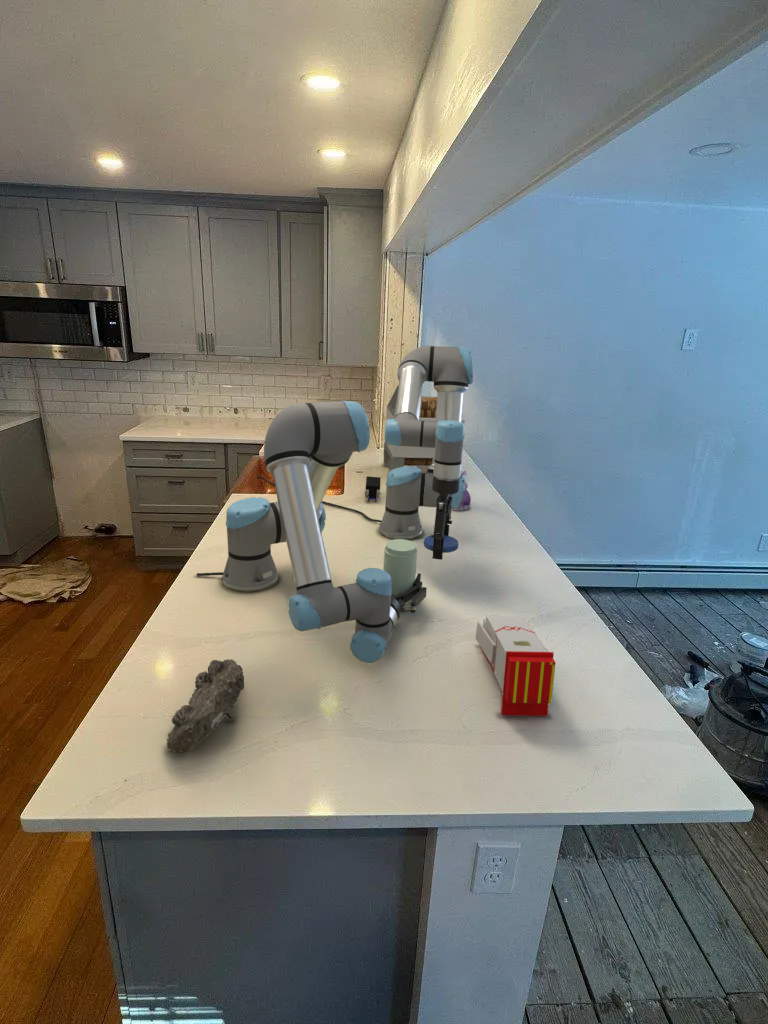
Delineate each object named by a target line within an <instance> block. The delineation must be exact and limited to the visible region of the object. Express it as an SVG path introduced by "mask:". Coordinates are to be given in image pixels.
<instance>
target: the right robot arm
mask: <svg viewBox="0 0 768 1024" xmlns="http://www.w3.org/2000/svg"><path fill="white" fill-rule="evenodd" d="M473 360H474V359H473V354H472V351H471V350H470V349H469V348H467V347H460V346H440V345H439V346H437V345H436V346H435V345H421V346H419V347H416V348H414V349H413V350H411V351H410V352H409V353H407V354H406V355H405V356H403V358H402V360H401V361H400V363H399V365H398V367H397V373H396V374H397V375H396V376H397V380H398V385H399V387H398V394H397V401H396V407H395V414H394V418H393V419H388V420H387V421H386V420H385V425H384V442H386V444H388V445H397V446H411V447H427V448H434V449H433V463H432V464H431V465H430V466H429V465H428V466H427V472H422V469H421V468H420V467H419V466H418V467H417V466H404V467H399V468H395V469H393V470H391V471H390V470H389V471H388V473H387V475H386V482H385V487H386V488H385V489H386V490H385V504H384V505H385V507H384V508H385V509H384V513H383V515H382V519H375V518H370V517H369V516H367V515H366V514H365V513H364V512H362V511H360V510H358V509H354V508H350V507H346V506H344V505H343V506H342V505H339V504H336V503H332V502H327V501H325V500H324V501H323V500H322V504H323V505H328V506H332V507H335V508H338V509H339V508H340V509H343V510H346V511H351V512H355V513H357V514H359V515H362V516H363V517H364V518H365V519H367V520H368V521H370V522H375V523H379V526H378V533H379V534H380V535H381V536H382V537H385V538H387V539H389V540H394V539H404V540H409V541H412V540H415V539H418V538H420V537H421V536H422V535H423V525H422V524H421V518H420V515H419V507H424V508H435V517H434V526H433V534H430V535H431V537H433V538H434V544H433V551H432V555H431V556H432V559H433V560H440V561H441V560H443V556H444V555H443V554H444V553H443V544H444V536H443V535H446V536H450V534H449V533H450V525H452V524H453V520H451V519H452V508H457V507H458V506H459V505H460V502H461V499H462V494H463V490H464V483H465V480H466V476H464V475H462V472H463V471H462V465H463V463H462V462H461V459H462V457H463V448H464V439H465V435H466V434H465V423H464V424H463V423H462V422H461V418H462V417H461V413H462V414H463V400H464V393H466V391H468V389H469V385H471V384H473V383H474V361H473ZM425 382H431V383H433V389H434V390H435V391H436V393H437V395H436V397H437V408H436V422H433V421H419V415H420V405H421V397H422V395H423V393H422V392H423V385H424V384H425ZM259 479H261V480H263V481H264V482H266V483H268V484H270V485H271V486H273V487H275V484H274V482H271V481H270V480H268V479H266V478H265V477H264V476H262V475H261V476H260V475H259V476H257V477H256V480H259Z"/></svg>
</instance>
